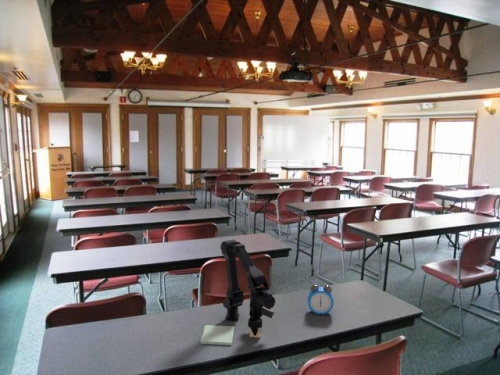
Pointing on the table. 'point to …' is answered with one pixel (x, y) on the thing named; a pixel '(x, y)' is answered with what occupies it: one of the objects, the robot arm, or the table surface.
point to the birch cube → (257, 333)
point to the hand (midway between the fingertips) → (255, 332)
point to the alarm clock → (320, 299)
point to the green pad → (217, 335)
